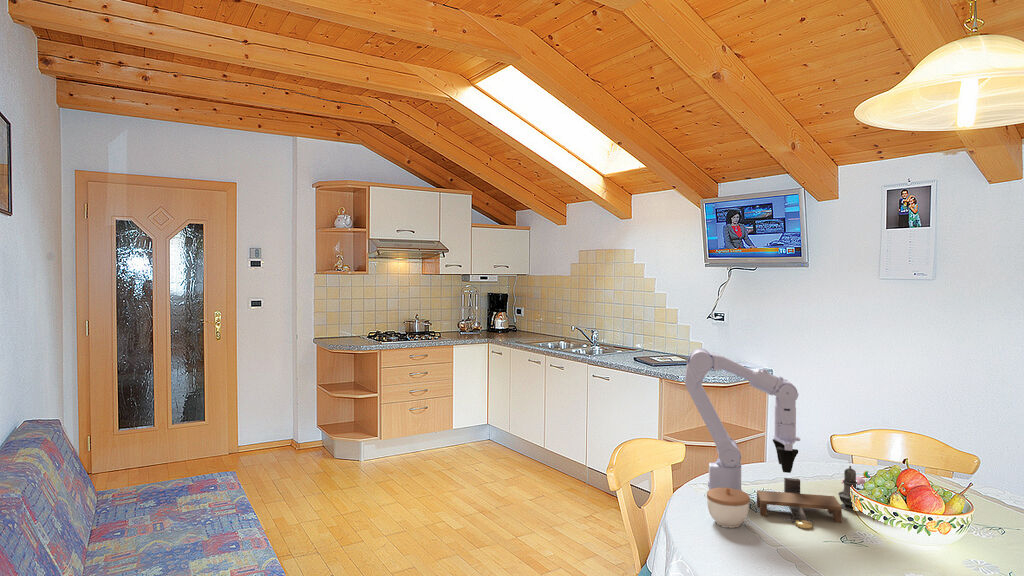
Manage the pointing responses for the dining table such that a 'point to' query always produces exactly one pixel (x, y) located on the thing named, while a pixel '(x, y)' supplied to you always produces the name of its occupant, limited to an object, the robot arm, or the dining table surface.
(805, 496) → the low shelf
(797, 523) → the brass token
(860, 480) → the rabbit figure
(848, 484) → the salt shaker
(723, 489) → the lidded jar
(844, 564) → the dining table surface
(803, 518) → the scraper tool
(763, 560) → the dining table surface
